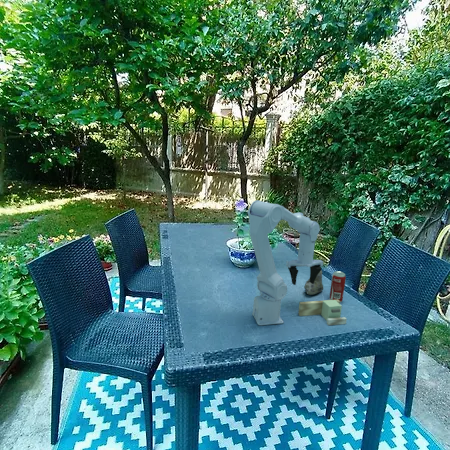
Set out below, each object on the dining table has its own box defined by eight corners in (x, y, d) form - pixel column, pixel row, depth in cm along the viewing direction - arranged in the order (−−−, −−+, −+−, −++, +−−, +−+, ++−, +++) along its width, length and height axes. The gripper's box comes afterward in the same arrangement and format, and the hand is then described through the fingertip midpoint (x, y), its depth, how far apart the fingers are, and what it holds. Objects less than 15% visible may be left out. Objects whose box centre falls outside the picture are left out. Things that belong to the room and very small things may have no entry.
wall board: (308, 327, 103) (310, 314, 101) (298, 314, 111) (299, 302, 110) (349, 323, 106) (351, 311, 105) (336, 311, 114) (337, 299, 113)
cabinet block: (328, 322, 106) (330, 307, 104) (321, 315, 111) (322, 300, 109) (341, 321, 107) (343, 307, 105) (333, 314, 112) (335, 299, 110)
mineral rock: (307, 298, 124) (309, 276, 121) (292, 287, 133) (294, 267, 131) (331, 294, 129) (334, 272, 126) (315, 284, 138) (317, 264, 136)
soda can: (331, 295, 127) (335, 269, 124) (344, 299, 124) (347, 273, 121) (327, 300, 123) (330, 273, 120) (339, 304, 120) (343, 276, 117)
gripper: (292, 254, 107) (289, 288, 110) (328, 253, 110) (324, 286, 113) (285, 248, 114) (282, 281, 117) (319, 247, 117) (315, 279, 120)
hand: (302, 283), depth 116 cm, fingers open, 7 cm apart
